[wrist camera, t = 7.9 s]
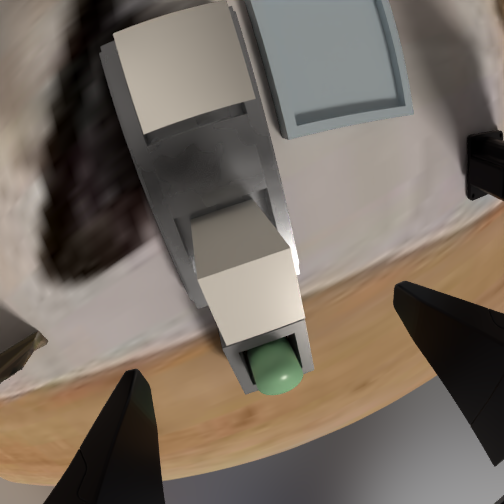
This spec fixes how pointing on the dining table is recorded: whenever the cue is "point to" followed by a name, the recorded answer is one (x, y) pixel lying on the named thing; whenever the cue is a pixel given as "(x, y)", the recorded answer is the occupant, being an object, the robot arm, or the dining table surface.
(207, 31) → the block
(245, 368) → the grey square tube
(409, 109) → the blue-grey square tray
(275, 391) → the button
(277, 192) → the tray
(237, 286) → the seated billet
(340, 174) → the dining table surface
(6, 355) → the incense holder
